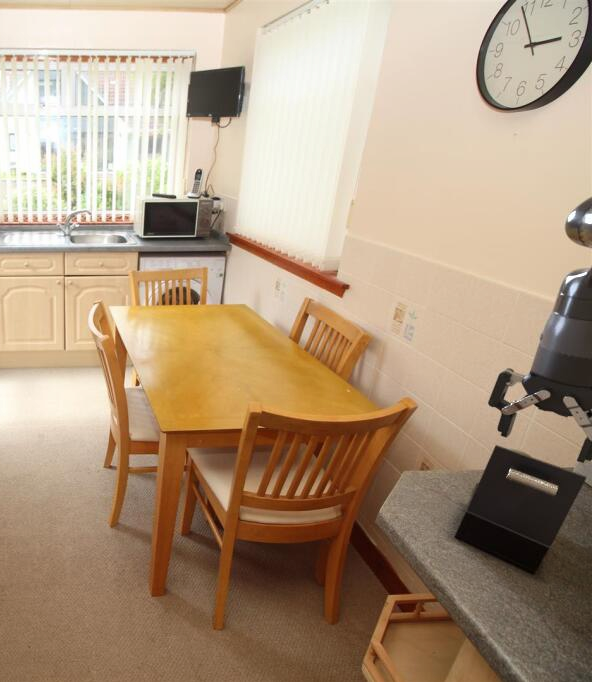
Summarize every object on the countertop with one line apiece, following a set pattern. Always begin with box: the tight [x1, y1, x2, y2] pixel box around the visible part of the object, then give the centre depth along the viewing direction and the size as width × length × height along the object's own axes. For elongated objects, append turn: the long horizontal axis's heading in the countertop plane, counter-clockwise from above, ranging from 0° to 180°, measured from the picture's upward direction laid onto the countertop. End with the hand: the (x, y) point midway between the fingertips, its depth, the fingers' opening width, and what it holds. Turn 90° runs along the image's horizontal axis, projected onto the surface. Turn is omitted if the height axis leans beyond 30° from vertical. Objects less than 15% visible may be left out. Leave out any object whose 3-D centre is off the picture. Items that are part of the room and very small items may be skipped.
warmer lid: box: [467, 444, 587, 548], centre depth 74 cm, size 12×11×5 cm
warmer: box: [454, 482, 550, 576], centre depth 82 cm, size 12×11×6 cm
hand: (541, 447), depth 71 cm, fingers open, 8 cm apart
